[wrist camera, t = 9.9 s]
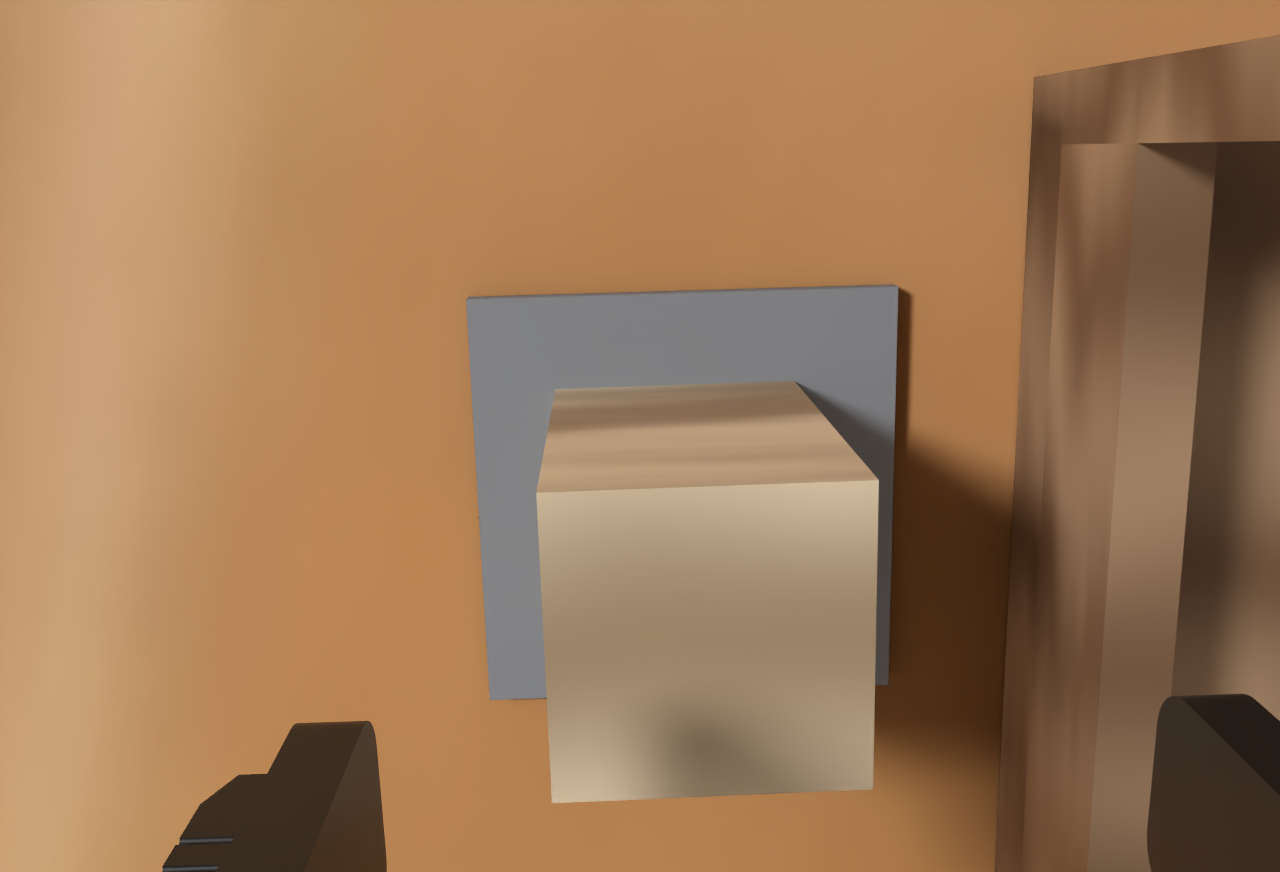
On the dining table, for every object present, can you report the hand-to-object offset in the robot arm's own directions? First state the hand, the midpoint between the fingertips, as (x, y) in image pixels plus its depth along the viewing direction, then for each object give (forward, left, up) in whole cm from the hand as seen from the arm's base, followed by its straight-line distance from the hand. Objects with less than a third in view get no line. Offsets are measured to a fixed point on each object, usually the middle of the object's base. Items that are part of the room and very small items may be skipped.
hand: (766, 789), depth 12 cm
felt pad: (0, 0, -12) cm, 12 cm away
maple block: (0, 0, -11) cm, 11 cm away
